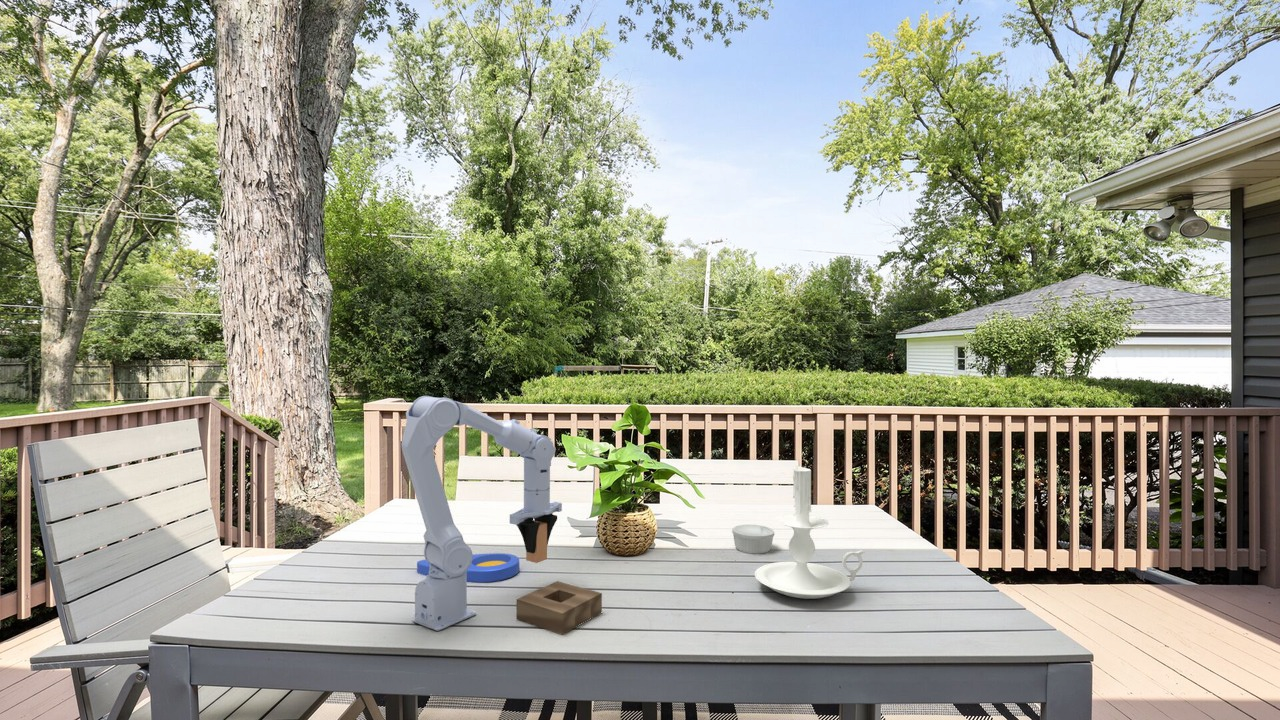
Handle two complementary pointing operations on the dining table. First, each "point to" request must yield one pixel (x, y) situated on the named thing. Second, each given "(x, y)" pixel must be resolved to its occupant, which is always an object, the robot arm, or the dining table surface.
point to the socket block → (558, 607)
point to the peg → (539, 545)
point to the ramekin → (753, 538)
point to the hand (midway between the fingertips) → (536, 550)
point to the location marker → (484, 567)
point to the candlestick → (805, 553)
